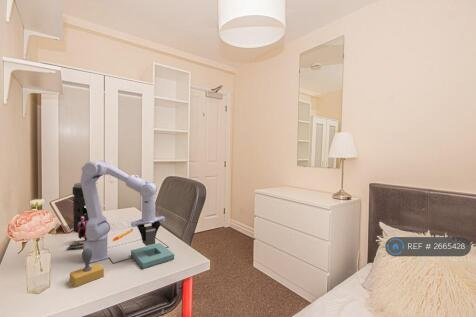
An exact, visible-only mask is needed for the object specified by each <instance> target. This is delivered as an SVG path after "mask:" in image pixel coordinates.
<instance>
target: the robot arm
mask: <svg viewBox="0 0 476 317" xmlns="http://www.w3.org/2000/svg"><path fill="white" fill-rule="evenodd" d="M105 175H108V176H109V175H110V176H111V177H114V178H116V179H117V180H120V181H122V182H124V183H125V186H127V187H128V188H130V189H132V190H134V191H136V192H138V193H139V194H140V196H141V219H137V220H133V221H131V222H130V225H131V228H136V227H137V229H138V231H139V233H140V237H141V242H142V241H145V231H146V226H145V225H150V224H151V226H153V227H154V228H155V238H156V236H157V233H158V231H159V228H160V227H161V222H165V221H166V217H165V216H156V193H157V191H158V186H157V185H156V184H155V183H154V182H150V181H148V180H144V179H143V178H140V176H139V175H138V174H131V175H129V174H127V173H126V172H124V171H123V170H121V169H119V168H117V167H116V166H114V165H113V164H112V163H110V162H106V161H105V160H96V161H88V162H86V163H85V164H84V165H83V166H82V167H81V176H80V183H81V186H82V191H83V195H84V200H85V204H86V206H85V208H86V209H87V213H88V218H89V220H88V222H87V224H86V232H85V235H86V238H87V239H88V240H87V241H84V242H83V247H82V248H83V249H82V251H83V250H85V249H87V248H89V249H91V250H92V257H91V260H90V263H89V264H92V263H96V262H99V261H102V260H107V259H110V258H111V255H109V253H108V233H109V232H110V231H111V225H110V223H109V221H108V219H107V217H106V216H104V215H103V211H102V206H101V202H100V197H99V193H98V188H97V181H98V180H99V179H100V177H102V176H105Z"/></svg>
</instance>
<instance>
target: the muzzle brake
mask: <svg viewBox="0 0 476 317" xmlns="http://www.w3.org/2000/svg"><path fill="white" fill-rule="evenodd" d="M72 196H73V198H72V200H73V202H72V208H73V210H72V211H73V215H72V216H73V233H77V234H78V230H79V228H78V223H79V222H81V221H82V220H81V217H82V216H83V217H84V221H87V222H88V220H89V218H88V213H87V209H86V204H85V200H84V195H83V191H82V186H81V182H75V183H74V184H73V187H72ZM84 228H85V227H84ZM80 229H81V228H80Z"/></svg>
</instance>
